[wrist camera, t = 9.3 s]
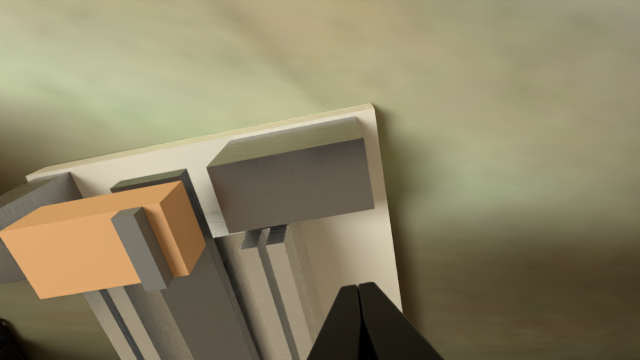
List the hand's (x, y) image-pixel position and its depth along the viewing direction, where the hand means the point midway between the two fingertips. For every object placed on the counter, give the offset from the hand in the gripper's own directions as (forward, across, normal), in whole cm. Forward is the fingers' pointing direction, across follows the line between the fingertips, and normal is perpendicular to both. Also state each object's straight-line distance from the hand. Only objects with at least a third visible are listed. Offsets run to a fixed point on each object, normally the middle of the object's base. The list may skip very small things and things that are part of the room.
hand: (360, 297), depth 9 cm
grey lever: (+7, +8, +5) cm, 12 cm away
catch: (+5, +9, -1) cm, 11 cm away
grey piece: (+10, +8, +6) cm, 14 cm away
